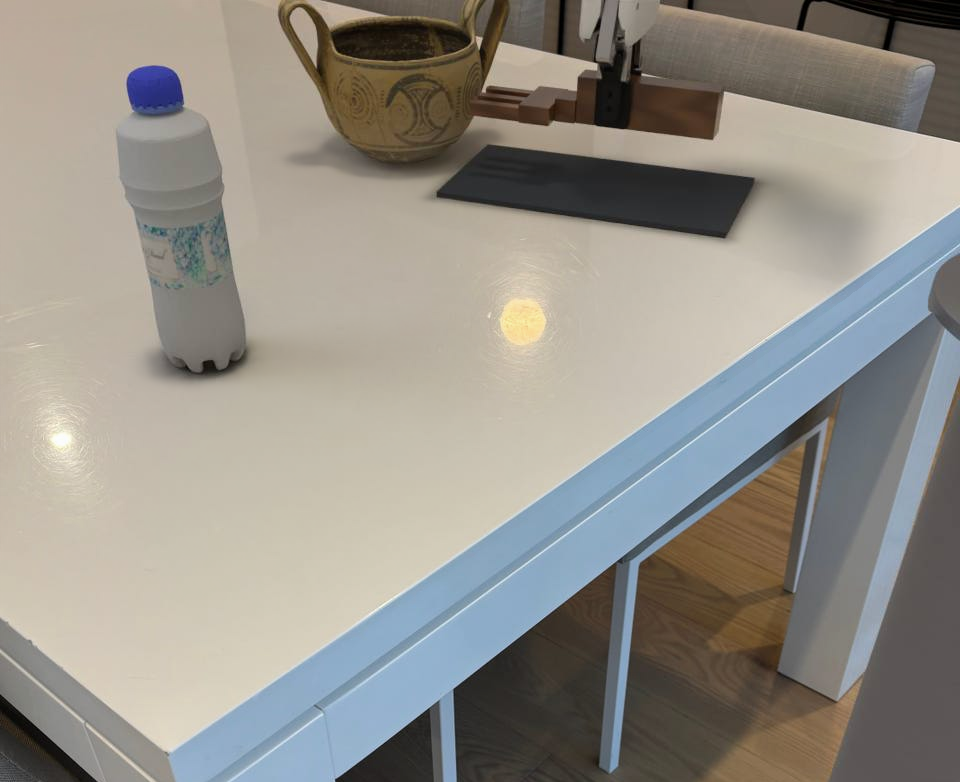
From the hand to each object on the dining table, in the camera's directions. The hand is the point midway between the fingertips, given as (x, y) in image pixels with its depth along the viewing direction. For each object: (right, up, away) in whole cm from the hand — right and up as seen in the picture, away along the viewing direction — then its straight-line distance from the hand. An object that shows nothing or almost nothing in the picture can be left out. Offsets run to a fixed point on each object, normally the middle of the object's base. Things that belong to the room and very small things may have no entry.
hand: (615, 119), depth 100 cm
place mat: (-1, -5, +5) cm, 7 cm away
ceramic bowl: (-21, +3, +13) cm, 25 cm away
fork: (-2, 0, +1) cm, 2 cm away
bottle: (-33, -27, -19) cm, 47 cm away
